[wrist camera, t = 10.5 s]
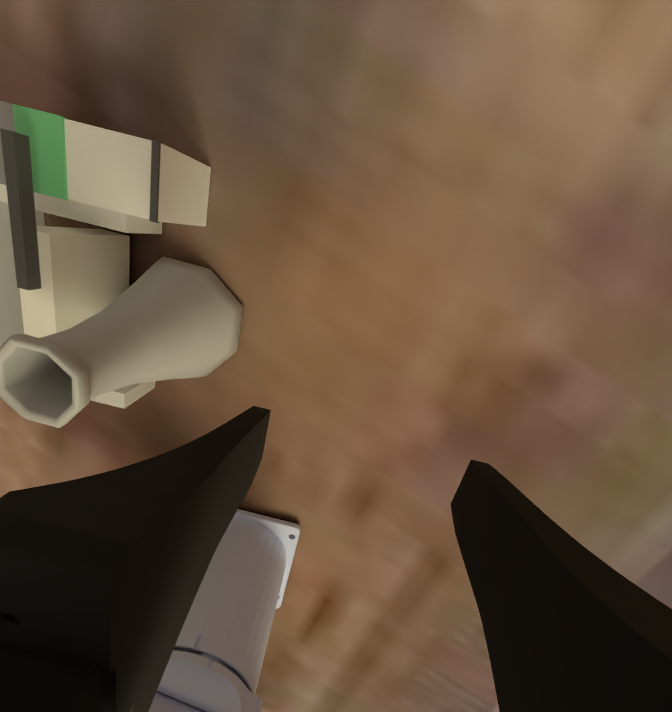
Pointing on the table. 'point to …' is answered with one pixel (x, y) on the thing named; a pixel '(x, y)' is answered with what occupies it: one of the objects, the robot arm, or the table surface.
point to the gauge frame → (96, 195)
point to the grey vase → (124, 344)
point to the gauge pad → (57, 255)
